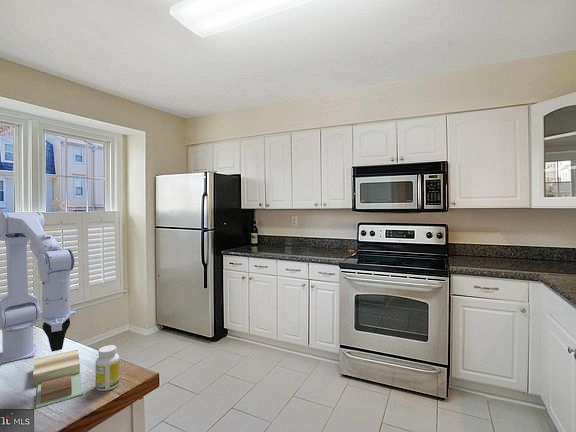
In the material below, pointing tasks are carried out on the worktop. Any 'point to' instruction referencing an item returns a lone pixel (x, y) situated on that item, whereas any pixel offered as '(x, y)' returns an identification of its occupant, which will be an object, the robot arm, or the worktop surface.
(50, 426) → the worktop surface
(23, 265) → the robot arm
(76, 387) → the green mat
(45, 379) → the birch board
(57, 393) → the walnut coaster
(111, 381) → the supplement bottle
